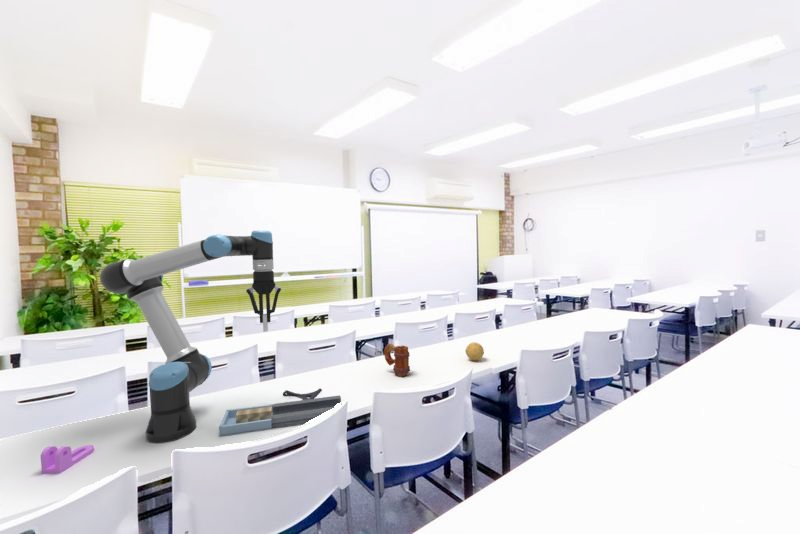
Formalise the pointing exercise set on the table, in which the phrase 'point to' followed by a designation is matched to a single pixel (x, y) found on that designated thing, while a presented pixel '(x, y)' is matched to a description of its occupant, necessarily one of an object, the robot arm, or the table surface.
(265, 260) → the robot arm
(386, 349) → the mug
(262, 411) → the wooden cube
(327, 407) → the slot bed
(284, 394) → the bracket
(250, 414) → the wooden cube
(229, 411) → the tray
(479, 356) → the stress ball
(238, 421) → the wooden cube
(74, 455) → the bracket
